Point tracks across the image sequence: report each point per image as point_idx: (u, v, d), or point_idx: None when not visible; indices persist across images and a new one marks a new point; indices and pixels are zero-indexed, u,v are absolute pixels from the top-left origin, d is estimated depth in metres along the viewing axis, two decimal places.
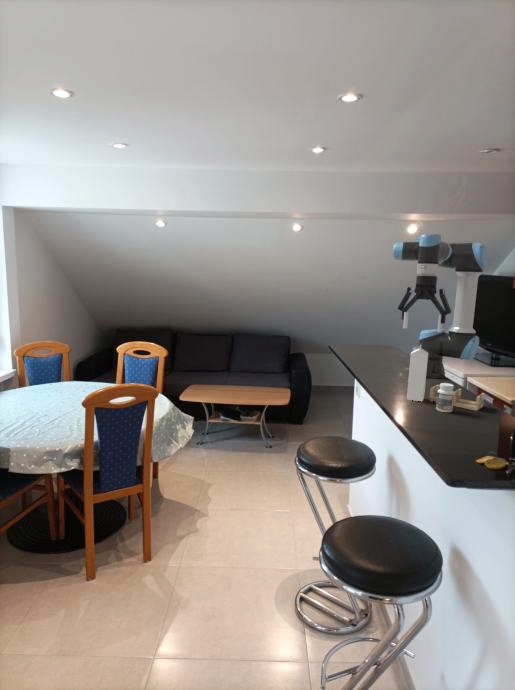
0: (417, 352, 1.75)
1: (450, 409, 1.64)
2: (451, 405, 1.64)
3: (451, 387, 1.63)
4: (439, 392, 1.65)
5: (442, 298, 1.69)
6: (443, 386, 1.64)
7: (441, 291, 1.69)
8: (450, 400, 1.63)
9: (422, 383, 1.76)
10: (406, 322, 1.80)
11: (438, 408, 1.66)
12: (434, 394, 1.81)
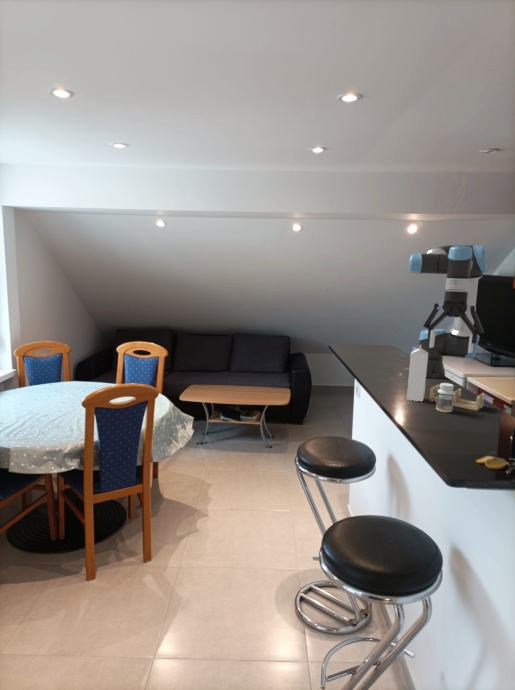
0: (417, 352, 1.75)
1: (450, 409, 1.64)
2: (451, 405, 1.64)
3: (451, 387, 1.63)
4: (439, 392, 1.65)
5: (474, 316, 1.55)
6: (443, 386, 1.64)
7: (473, 308, 1.55)
8: (450, 400, 1.63)
9: (422, 383, 1.76)
10: (433, 341, 1.67)
11: (438, 408, 1.66)
12: (434, 394, 1.81)
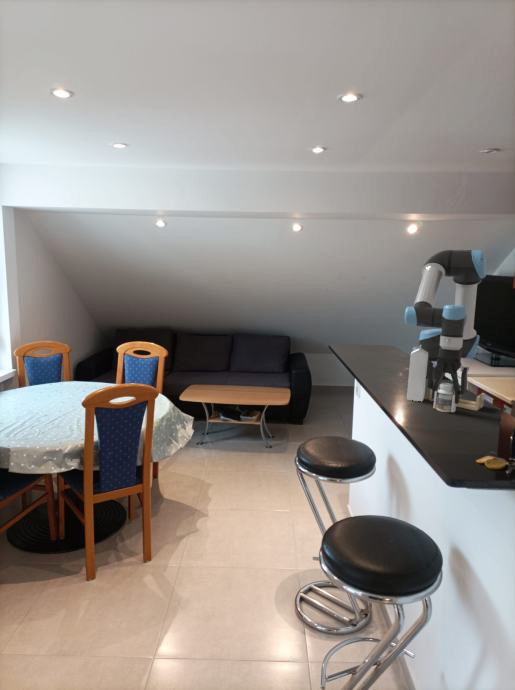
0: (417, 352, 1.75)
1: (450, 409, 1.64)
2: (451, 405, 1.64)
3: (451, 387, 1.63)
4: (439, 392, 1.65)
5: (463, 377, 1.60)
6: (443, 386, 1.64)
7: (465, 370, 1.59)
8: (450, 400, 1.63)
9: (422, 383, 1.76)
10: (436, 401, 1.68)
11: (438, 408, 1.66)
12: None
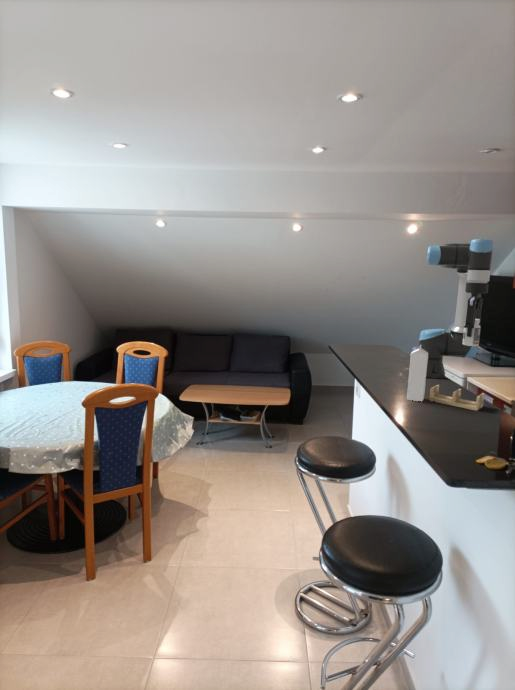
0: (417, 352, 1.75)
1: None
2: None
3: None
4: None
5: None
6: None
7: None
8: None
9: (422, 383, 1.76)
10: None
11: None
12: (434, 394, 1.81)
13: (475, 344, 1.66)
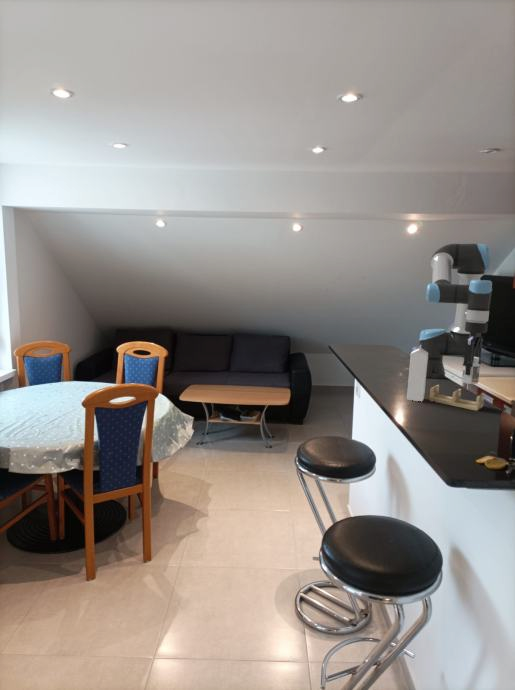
0: (417, 352, 1.75)
1: None
2: None
3: None
4: None
5: None
6: None
7: None
8: None
9: (422, 383, 1.76)
10: None
11: None
12: (434, 394, 1.81)
13: (474, 382, 1.69)
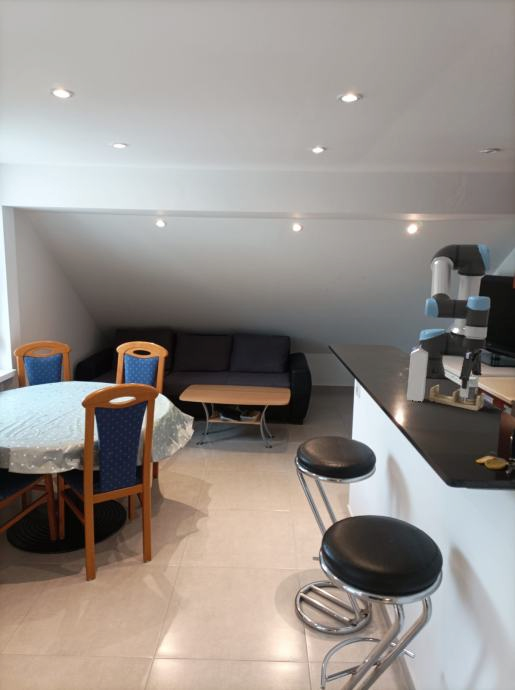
0: (417, 352, 1.75)
1: (462, 400, 1.72)
2: None
3: None
4: None
5: None
6: None
7: None
8: None
9: (422, 383, 1.76)
10: None
11: None
12: (434, 394, 1.81)
13: (472, 402, 1.71)
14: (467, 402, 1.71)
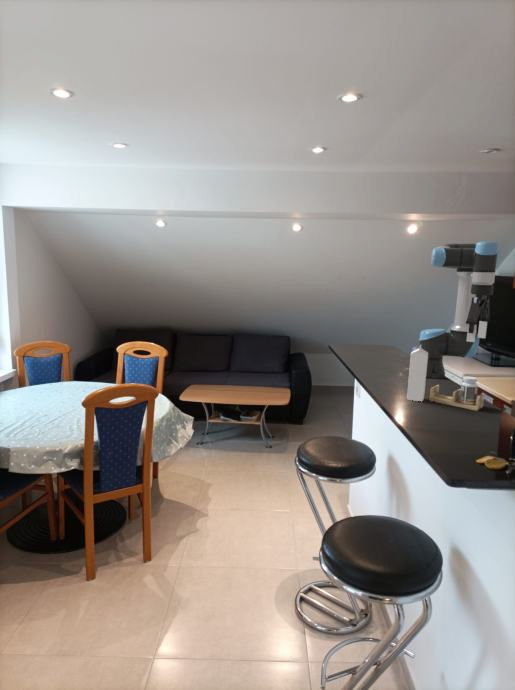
0: (417, 352, 1.75)
1: (462, 400, 1.72)
2: (464, 396, 1.72)
3: (465, 379, 1.71)
4: None
5: None
6: None
7: None
8: (463, 391, 1.72)
9: (422, 383, 1.76)
10: (481, 332, 1.77)
11: None
12: (434, 394, 1.81)
13: (472, 402, 1.71)
14: (467, 402, 1.71)
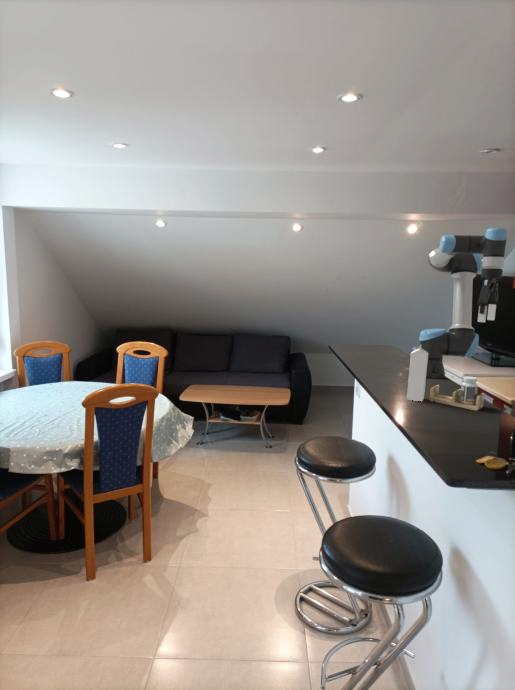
0: (417, 352, 1.75)
1: (462, 400, 1.72)
2: (464, 396, 1.72)
3: (465, 379, 1.71)
4: None
5: None
6: None
7: None
8: (463, 391, 1.72)
9: (422, 383, 1.76)
10: (490, 314, 1.87)
11: None
12: (434, 394, 1.81)
13: (472, 402, 1.71)
14: (467, 402, 1.71)
